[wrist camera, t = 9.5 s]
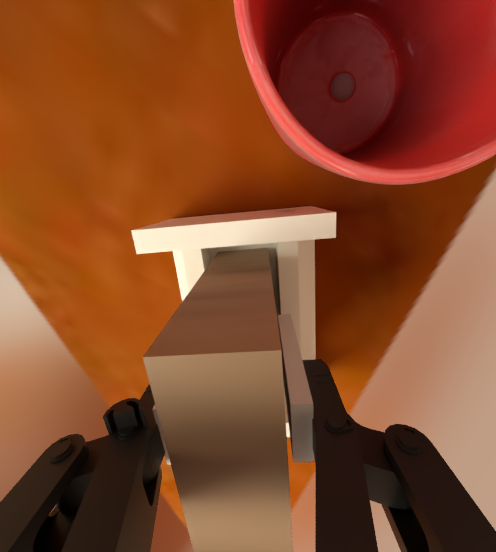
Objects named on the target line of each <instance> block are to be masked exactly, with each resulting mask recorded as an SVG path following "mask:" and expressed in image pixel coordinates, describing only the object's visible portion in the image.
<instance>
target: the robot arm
mask: <svg viewBox="0 0 496 552" xmlns="http://www.w3.org/2000/svg"><path fill="white" fill-rule="evenodd" d="M278 328H279V335H280V343H281V350H282V367H283V382H284V390H285V398H286V406H287V414H288V422H289V431H290V439H291V447H292V455H293V462H314V458H315V463H316V552H378V547H377V541H376V536H375V530H374V524H373V518H372V512H371V506H370V500H372V501H375V502H377V503H380V504H382V507H383V509H384V511H385V513H386V516H387V518H388V521H389V523H390V525H391V528H392V531H393V533H394V535H395V538H396V540H397V542H398V545H399V547H400V550H401V552H496V531H495V530H494V528H493V527H492V526H491V524H490V523H489V522H488V520H487V519H486V517H485V516H484V515H483V513H482V512H481V510H480V509H479V508H478V506H477V505H476V504H475V502H474V501H473V499H472V498H471V497H470V495H469V494H468V492H467V491H466V490H465V488H464V487H463V485H462V484H461V483H460V481H459V480H458V479H457V478H456V476H455V474H454V473H453V472H452V470H451V469H450V468H449V466H448V465H447V463H446V462H445V461H444V459H443V458H442V456H441V455H440V454H439V452H438V451H437V449H436V448H435V447H434V445H433V444H432V443H431V441H430V440H429V439H428V438H427V437H426V436H425V435H424V434H423V433H421V432H420V431H418V430H417V429H415V428H412V427H410V426H407V425H401V424H395V425H391V426H389V427H388V428H387V429H386V430H385V433H384V432H380V431H376V430H372V429H369V428H366V427H363V426H361V425H359V424H358V423H356V422H355V421H354V420H353V419H352V418H351V416H350V415H348V414H347V412H346V410H345V408H344V405H343V403H342V400H341V398H340V395H339V393H338V390H337V387H336V385H335V383H334V380H333V377H332V375H331V372H330V370H329V367H328V366H327V365H326V364H325V363H324V362H323V361H322V360H321V359H314V360H302V357H301V353H300V349H299V345H298V341H297V337H296V333H295V329H294V325H293V321H292V317H291V314H284V315H278ZM103 419H104V421H105V424H106V427H107V430H108V432H109V435H107V436H105V437H102V438H99V439H96V440H92V441H89V442H86V441H85V439H84V438H83V436H82V435H79V434H73V435H68V436H66V437H64V438H61V439H59V440H58V441H56V442H55V443H53V444H52V445H51V446H50V447H49V448H48V449H47V450H45V452H44V453H43V454H42V455H41V456H40V457H39V458H38V459H37V461H36V462H35V463H34V464H33V465H32V466H31V468H30V469H29V470H28V471H27V472H26V474H25V475H24V476H23V477H22V478H21V479H20V481H19V482H18V483H17V484H16V485H15V486H14V487H13V489H12V490H11V491H10V492H9V493H8V494H7V495H6V497H5V498H4V499H3V500H2V501H1V502H0V552H150V549H151V543H152V537H153V529H154V523H155V517H156V511H157V505H158V498H159V492H160V486H161V479H162V471H161V467H160V465H161V462H162V460H163V457H164V455H165V458H166V462H167V464H171V463H170V459H169V455H168V451H167V447H166V443H165V440H164V436H163V432H162V428H161V424H160V421H159V417H158V413H157V409H156V405H155V402H154V398H153V394H152V390H151V386H150V385H148V387H147V388H146V391H145V392H144V394H143V395H142V397H141V399H140V400H138V399H136V398H130V399H125V400H122V401H120V402H118V403H116V404H114V405H113V406H112V407H111V408H110V409H108V410H107V411H106V413H105V414H104V416H103ZM55 505H57V506H56V507H55V509H54V510H53V511H52V509H53V508H54V506H55ZM51 511H52V512H51ZM50 512H51V513H50ZM49 514H50V515H49Z"/></svg>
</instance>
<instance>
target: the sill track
mask: <svg viewBox="0 0 496 552" xmlns="http://www.w3.org/2000/svg"><path fill="white" fill-rule="evenodd" d="M131 231H132V235H133V240H134V244H135V248H136V252H137V254H142V253H154V252H166V251H173V255H174V260H175V265H176V271H177V276H178V281H179V287H180V292H181V297H182V302H183V300H184V299H185V298H186V296H187V295H188V293H189V292H190V291H191V289H192V288H193V286H194V285H195V284H196V282H197V281H198V279H199V278H200V277H201V275H202V274H203V272H204V271H205V270H206V268H207V267H208V265H209V264H210V263H211V261H212V260H213V258H214V257H215V256H216V254H217V253H218V252H221V251H233V250H246V249H258V248H268V254H269V262H270V269H271V276H272V284H273V291H274V299H275V306H276V313H277V321H278V315H284V314H291V317H292V321H293V325H294V329H295V333H296V337H297V341H298V345H299V349H300V353H301V357H302V360H314V359H316V336H315V239H326V238H336V212H333V211H330V210H326V209H322V208H318V207H314V206H305V207H294V208H283V209H273V210H262V211H251V212H240V213H229V214H218V215H207V216H196V217H185V218H174V219H169V220H166V221H162V222H159V223H155V224H152V225H148V226H145V227H141V228H138V229H135V230H131ZM283 385H284V382H283ZM284 402H285V419H286V436H287V437H290V431H289V422H288V414H287V406H286V398H285V390H284Z"/></svg>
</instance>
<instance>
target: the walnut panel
mask: <svg viewBox="0 0 496 552" xmlns="http://www.w3.org/2000/svg"><path fill="white" fill-rule="evenodd" d="M143 360H144V363H145V367H146V371H147V375H148V379H149V383H150V386H151V390H152V394H153V398H154V402H155V405H156V409H157V413H158V417H159V421H160V424H161V428H162V432H163V436H164V440H165V443H166V447H167V451H168V455H169V459H170V463H171V466H172V470H173V474H174V478H175V482H176V485H177V489H178V493H179V497H180V501H181V504H182V508H183V512H184V516H185V520H186V523H187V527H188V531H189V535H190V539H191V542H192V546H193V550H194V552H293V540H292V525H291V524H292V523H291V505H290V488H289V471H288V454H287V436H286V419H285V402H284V385H283V367H282V350H281V343H280V335H279V328H278V321H277V313H276V306H275V299H274V291H273V284H272V276H271V269H270V262H269V254H268V248H258V249H246V250H233V251H221V252H218V253H217V254H216V256H215V257H214V258H213V260H212V261H211V263H210V264H209V265H208V267H207V268H206V270H205V271H204V272H203V274H202V275H201V277H200V278H199V279H198V281H197V282H196V284H195V285H194V286H193V288H192V289H191V291H190V292H189V293H188V295H187V296H186V298H185V299H184V300H183V302H182V303H181V304H180V306H179V307H178V309H177V310H176V311H175V313H174V314H173V316H172V317H171V318H170V320H169V321H168V323H167V324H166V325H165V327H164V328H163V330H162V331H161V332H160V334H159V335H158V337H157V338H156V339H155V341H154V342H153V344H152V345H151V346H150V348H149V349H148V351H147V352H146V353H145V355H144V356H143Z"/></svg>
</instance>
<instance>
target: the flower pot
mask: <svg viewBox="0 0 496 552" xmlns="http://www.w3.org/2000/svg"><path fill="white" fill-rule="evenodd" d="M234 9H235V17H236V23H237V28H238V34H239V38H240V43H241V47H242V50H243V53H244V57H245V60H246V63H247V66H248V69H249V72H250V75H251V78H252V81H253V83H254V86H255V88H256V90H257V93H258V95H259V98H260V100H261V102H262V104H263V106H264V108H265V111H266V113H267V115H268V117H269V118H270V120H271V122H272V124H273V126H274V127H275V129H276V131H277V132H278V134H279V135H280V137H281V138H282V139H283V141H284V142H285V143H286V144H287V145H288V146H289V147H290V148H291V149H292V150H293V151H294V152H295V153H297V154H298V155H299V156H301V157H302V158H303V159H305V160H307V161H309V162H311V163H313V164H315V165H317V166H319V167H321V168H323V169H325V170H328V171H330V172H333V173H336V174H338V175H341V176H344V177H347V178H351V179H355V180H358V181H363V182H369V183H375V184H386V185H401V184H415V183H422V182H427V181H432V180H437V179H441V178H444V177H447V176H450V175H452V174H455V173H459V172H461V171H464V170H466V169H468V168H471V167H473V166H475V165H477V164H479V163H481V162H483V161H485V160H487V159H489V158H491V157H493V156H494V155H496V0H234Z"/></svg>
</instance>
